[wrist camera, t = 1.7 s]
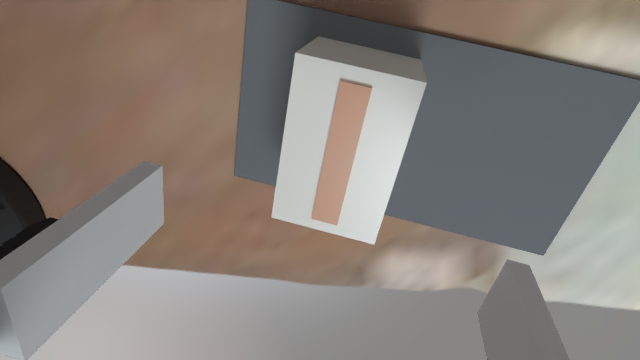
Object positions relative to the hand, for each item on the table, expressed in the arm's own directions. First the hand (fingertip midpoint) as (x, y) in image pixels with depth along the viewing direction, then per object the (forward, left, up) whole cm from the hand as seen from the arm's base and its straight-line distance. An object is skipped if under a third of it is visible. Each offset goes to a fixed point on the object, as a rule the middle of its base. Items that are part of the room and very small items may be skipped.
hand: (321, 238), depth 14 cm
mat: (+4, 0, -14) cm, 14 cm away
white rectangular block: (0, 0, -13) cm, 13 cm away
